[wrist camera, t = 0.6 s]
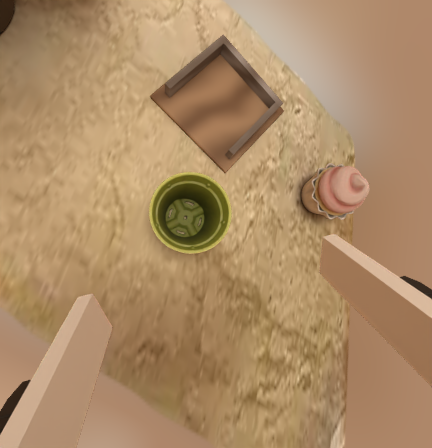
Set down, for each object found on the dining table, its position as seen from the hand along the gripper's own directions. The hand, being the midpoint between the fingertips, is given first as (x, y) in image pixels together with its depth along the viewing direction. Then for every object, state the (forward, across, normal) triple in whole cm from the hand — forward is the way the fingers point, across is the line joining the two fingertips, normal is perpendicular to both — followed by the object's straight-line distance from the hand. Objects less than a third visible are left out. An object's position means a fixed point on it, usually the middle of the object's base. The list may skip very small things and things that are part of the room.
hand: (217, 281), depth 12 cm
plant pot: (+21, -2, -5) cm, 21 cm away
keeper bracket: (+29, +8, +10) cm, 32 cm away
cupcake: (+24, +22, -7) cm, 33 cm away
